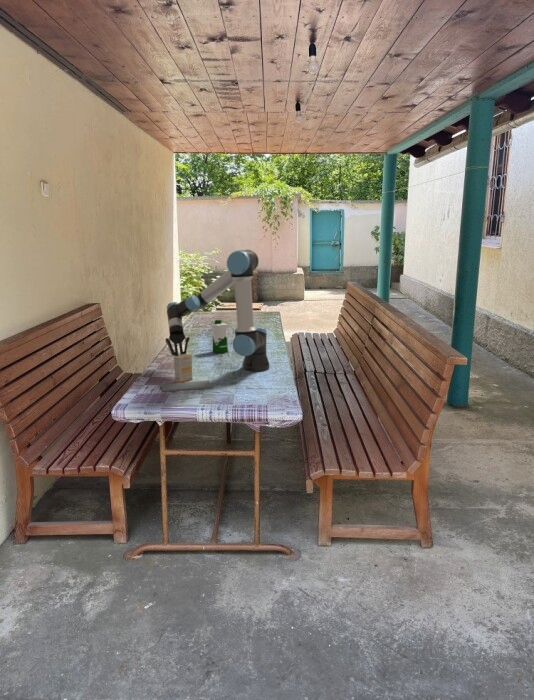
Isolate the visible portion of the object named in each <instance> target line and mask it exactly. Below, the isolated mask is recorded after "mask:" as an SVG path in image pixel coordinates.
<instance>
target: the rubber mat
mask: <svg viewBox="0 0 534 700" xmlns="http://www.w3.org/2000/svg"><path fill="white" fill-rule="evenodd" d="M160 388H161V390H162V393H167V392H169V393H170V392H180V391H193V390H207V389H214V386H213V384H212V383H211V381H210V380H199V381H185V382H182V383H179V382H172V383H171V382H169V383H160Z"/></svg>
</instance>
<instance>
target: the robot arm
mask: <svg viewBox="0 0 534 700" xmlns="http://www.w3.org/2000/svg"><path fill="white" fill-rule="evenodd" d="M258 266H259V257H258V254H257V253H256V252H255V251H254V250H250V249H239V250H235V251H233V252H231V253H230V254H229V255H228V257H227V259H226V267H227V270H226V271H225V272H224V273H223V274H222V275H220V276H219V277H218V278H216V280H214V281H213V282H212V283H210V284H209V285H208V286H207V287H205V288H204V289H203V290H201V292H199V293H198V294H197V295H190V296H188V297H186V298H185V299H183V300H182V301H180V302H178V301H172V302H170V303H168V304H167V306H166V315H167V320H168V321H167V323H168V333H169V337H168V338H167V337H166V338H165V343H166V344H167V346H168V349H169V352H170V354H171V356H173V357H174V356H178V355H182V354H187V350H188V344H189V342H190V336H186V335H185V332H184V325H183V324H184V323H183V317H185V316H186V315H188V314H190V313H193V312H196V311H199V310H203V309H206V308H207V307H208V306H209V304H210V303H212V301H213V300H215V299H216V298H217V297H218V296H219V295H221V294H223V292H225V291H226V290H227V289H229V287H232V286H233V284H234V296H235V297H234V298H235V308H236V309H235V312H236V323H237V324H236V325H237V327H236V328H235V329H234V338H233V340H232V348H233V351H234V352H235V353H236V354H237V355H239V356H242V357H244V358H243V360H242V361H243V362H242V364H241V366H242V367H241V368H242V370H244V369H245V371H247V372H248V371H249V372H263V371H267V370H269V369H270V361H269V358H268V355H267V335H268V334H267V329H266V327H262V326H261V327H259V326H255V325H254V324H255V323H254V309H253V308H254V307H253V293H252V292H253V291H252V279H253V278H254V277H255V275H254V271H255V270H256V269H257V267H258ZM184 341H185V343H184V349H183V342H184ZM172 343H173V345H172ZM173 346H174V347H173ZM178 346H179V348H178ZM178 349H179V350H178ZM183 350H184V351H183Z"/></svg>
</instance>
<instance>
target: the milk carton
mask: <svg viewBox="0 0 534 700" xmlns="http://www.w3.org/2000/svg"><path fill="white" fill-rule="evenodd" d="M211 329H212V352H213V353H215V352H216V354H218V353H220V354H226V353H225V352H227V353H229V349H228V346H229V345H228V329H229V324H228V323H225V322H222V320H221V319H215V320H214V323H211Z"/></svg>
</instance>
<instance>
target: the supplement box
mask: <svg viewBox="0 0 534 700" xmlns="http://www.w3.org/2000/svg"><path fill="white" fill-rule="evenodd" d="M192 357H193V356H192V354H188V353H186V354H182V355H178V356H175V355H174V356H173V369H174V371H173V372H174V383H182V382H190V381H192V380H193V358H192Z"/></svg>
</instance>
